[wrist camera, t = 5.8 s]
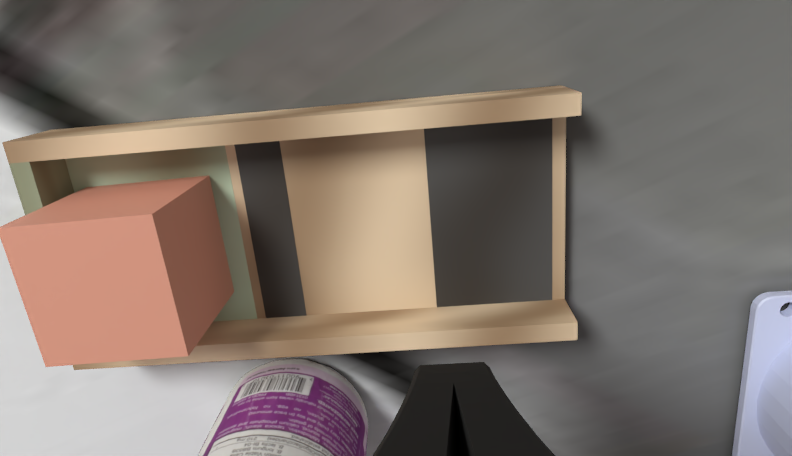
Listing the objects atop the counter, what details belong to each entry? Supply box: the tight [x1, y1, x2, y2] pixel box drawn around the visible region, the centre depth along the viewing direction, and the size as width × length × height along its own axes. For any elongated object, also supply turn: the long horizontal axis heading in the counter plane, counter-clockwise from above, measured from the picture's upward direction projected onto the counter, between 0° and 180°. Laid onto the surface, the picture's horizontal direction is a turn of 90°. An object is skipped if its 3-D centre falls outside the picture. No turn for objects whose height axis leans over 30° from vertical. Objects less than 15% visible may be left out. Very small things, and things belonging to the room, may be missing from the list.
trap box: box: [3, 86, 582, 370], centre depth 18 cm, size 16×7×2 cm, turn 95°
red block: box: [0, 175, 234, 367], centre depth 16 cm, size 4×4×4 cm
